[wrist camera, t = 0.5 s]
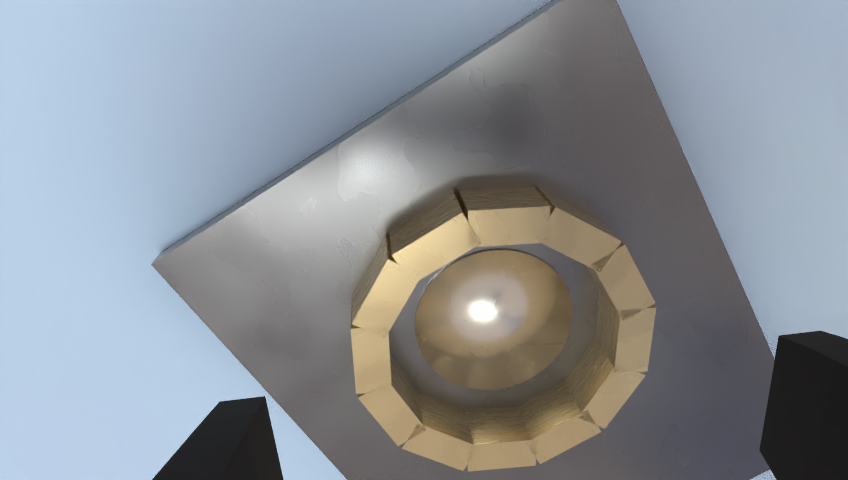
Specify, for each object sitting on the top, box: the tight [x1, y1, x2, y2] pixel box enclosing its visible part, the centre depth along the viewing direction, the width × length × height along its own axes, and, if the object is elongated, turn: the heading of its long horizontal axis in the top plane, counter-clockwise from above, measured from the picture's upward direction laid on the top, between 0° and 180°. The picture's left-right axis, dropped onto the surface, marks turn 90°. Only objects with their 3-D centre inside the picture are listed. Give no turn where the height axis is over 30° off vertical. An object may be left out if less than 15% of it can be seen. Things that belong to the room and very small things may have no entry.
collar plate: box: [151, 0, 775, 480], centre depth 19 cm, size 18×14×2 cm
